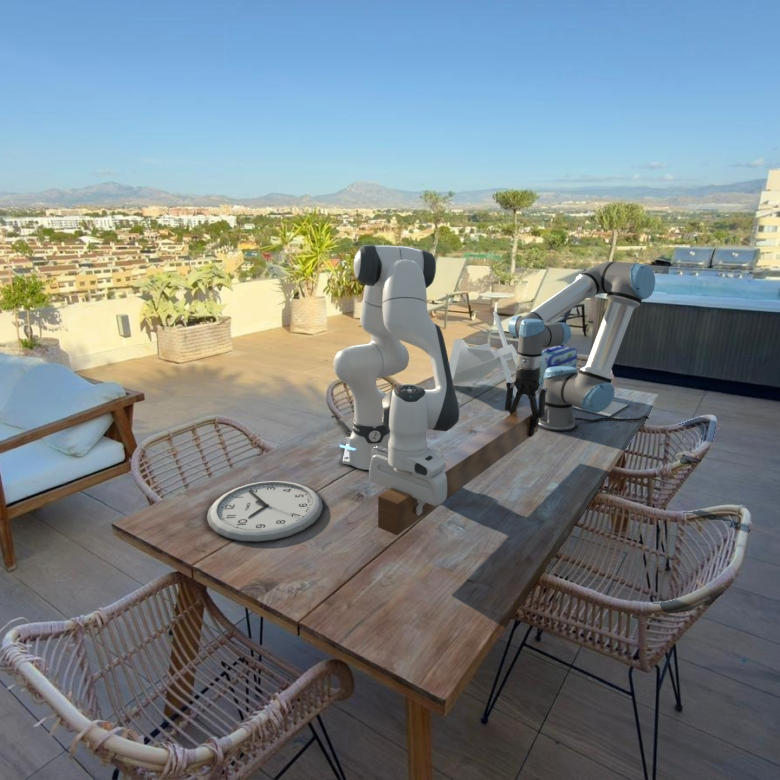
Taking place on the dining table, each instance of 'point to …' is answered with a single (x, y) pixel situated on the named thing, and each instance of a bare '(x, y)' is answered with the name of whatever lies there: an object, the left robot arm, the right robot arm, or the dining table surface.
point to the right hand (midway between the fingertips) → (522, 433)
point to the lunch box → (556, 359)
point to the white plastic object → (480, 359)
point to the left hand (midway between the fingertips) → (405, 508)
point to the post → (458, 468)
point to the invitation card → (610, 408)
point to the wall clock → (264, 511)
